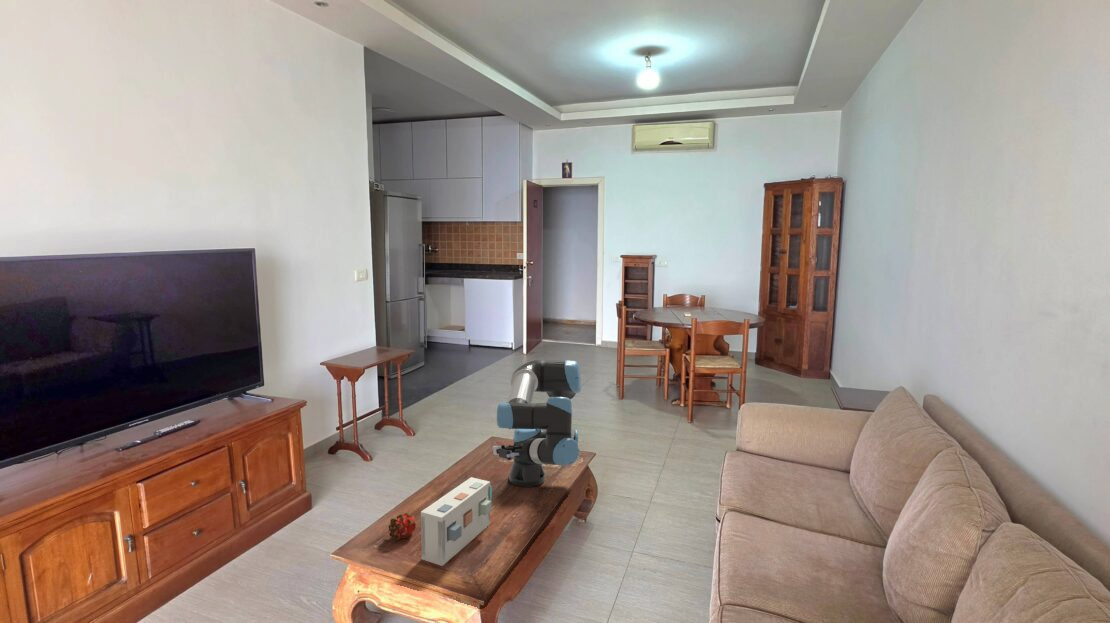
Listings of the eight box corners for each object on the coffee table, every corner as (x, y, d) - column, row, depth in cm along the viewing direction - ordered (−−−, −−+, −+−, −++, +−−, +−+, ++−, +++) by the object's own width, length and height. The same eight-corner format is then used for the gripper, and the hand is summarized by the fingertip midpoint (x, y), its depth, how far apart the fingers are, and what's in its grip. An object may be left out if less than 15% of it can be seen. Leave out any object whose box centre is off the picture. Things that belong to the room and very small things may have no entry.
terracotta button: (459, 517, 186) (459, 507, 185) (472, 521, 184) (472, 511, 183) (453, 522, 183) (453, 512, 182) (466, 526, 181) (466, 516, 180)
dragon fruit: (389, 550, 182) (410, 536, 193) (408, 538, 180) (428, 526, 191) (378, 526, 183) (399, 514, 195) (397, 515, 181) (416, 503, 193)
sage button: (479, 507, 193) (479, 497, 193) (491, 510, 191) (491, 501, 191) (473, 512, 190) (473, 502, 190) (485, 515, 188) (485, 505, 187)
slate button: (448, 531, 177) (448, 521, 177) (461, 535, 175) (461, 525, 175) (441, 537, 174) (441, 526, 173) (454, 541, 172) (454, 530, 171)
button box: (471, 519, 199) (471, 476, 197) (490, 524, 196) (490, 480, 194) (421, 559, 174) (420, 510, 172) (442, 566, 171) (441, 516, 169)
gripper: (523, 469, 163) (480, 466, 181) (556, 457, 172) (512, 456, 189) (519, 444, 164) (476, 443, 181) (551, 433, 172) (508, 434, 190)
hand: (494, 450), depth 185 cm, fingers closed
